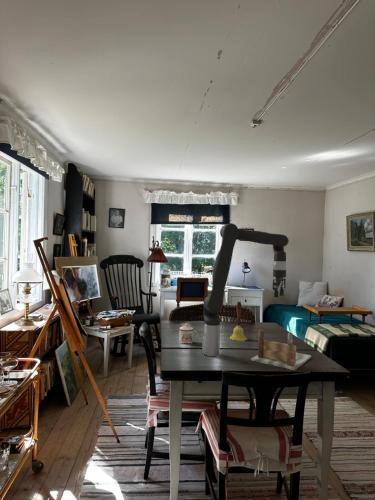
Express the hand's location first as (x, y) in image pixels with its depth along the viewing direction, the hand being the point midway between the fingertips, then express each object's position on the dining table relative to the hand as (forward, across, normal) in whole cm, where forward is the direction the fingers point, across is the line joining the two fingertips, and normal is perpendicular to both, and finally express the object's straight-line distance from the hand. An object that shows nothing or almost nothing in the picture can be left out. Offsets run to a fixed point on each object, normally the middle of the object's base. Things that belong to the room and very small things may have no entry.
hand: (278, 296), depth 204 cm
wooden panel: (+32, +17, +7) cm, 36 cm away
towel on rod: (+33, +9, +6) cm, 35 cm away
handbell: (+33, -14, -33) cm, 49 cm away
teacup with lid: (+33, +16, -53) cm, 65 cm away
